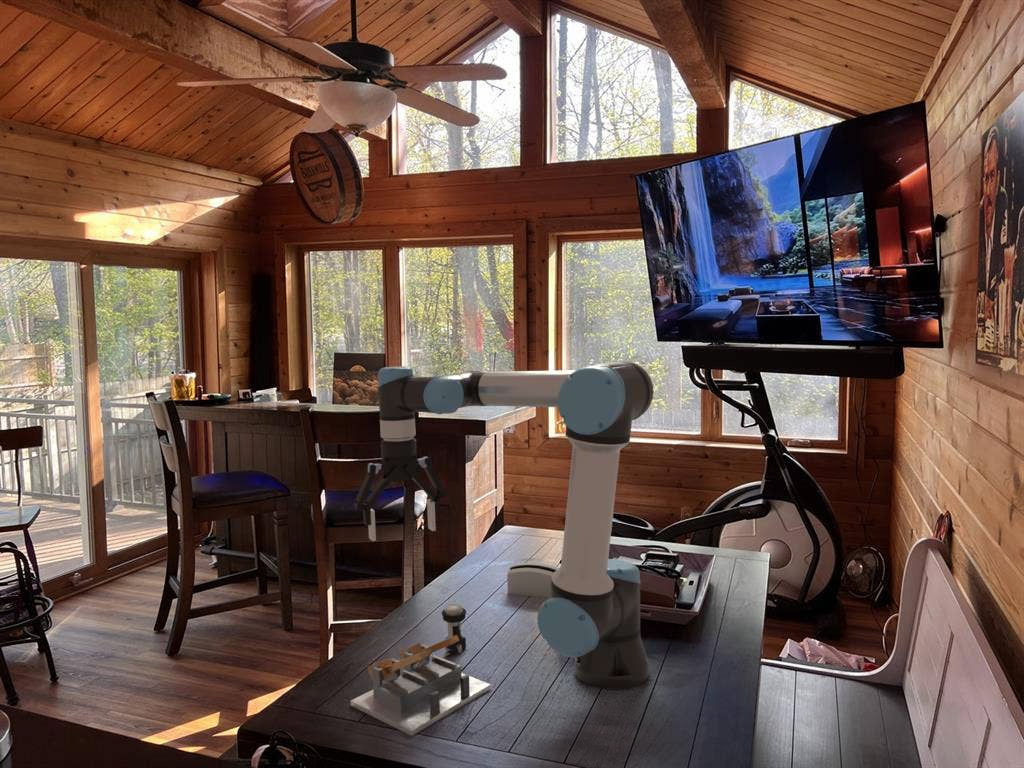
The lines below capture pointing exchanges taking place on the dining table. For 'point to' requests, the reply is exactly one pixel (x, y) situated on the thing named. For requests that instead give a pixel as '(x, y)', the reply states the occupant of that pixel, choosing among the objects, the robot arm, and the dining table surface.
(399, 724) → the heatsink base
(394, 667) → the strap left
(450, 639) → the strap right
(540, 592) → the pale grey rounded block
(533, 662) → the dining table surface
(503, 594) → the dining table surface
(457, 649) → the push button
